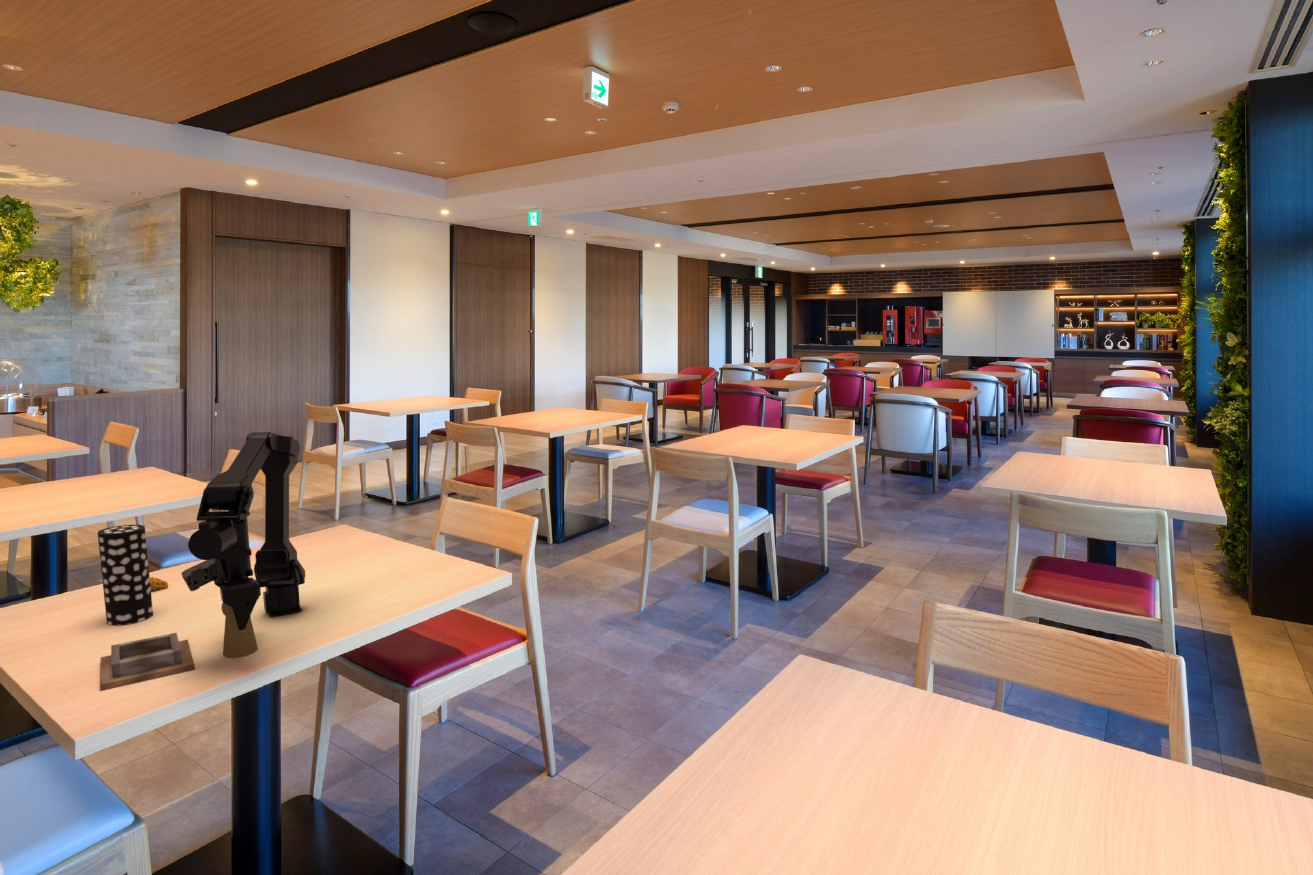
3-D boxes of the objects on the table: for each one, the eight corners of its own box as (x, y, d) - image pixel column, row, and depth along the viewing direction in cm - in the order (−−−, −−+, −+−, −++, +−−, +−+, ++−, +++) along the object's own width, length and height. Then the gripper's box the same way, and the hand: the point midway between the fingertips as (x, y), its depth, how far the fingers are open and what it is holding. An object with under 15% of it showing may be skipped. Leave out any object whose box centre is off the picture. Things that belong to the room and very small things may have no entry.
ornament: (135, 563, 185) (103, 569, 171) (180, 570, 187) (152, 576, 172) (128, 590, 184) (95, 598, 170) (173, 597, 186) (145, 605, 172)
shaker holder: (188, 644, 148) (186, 627, 148) (194, 669, 137) (193, 651, 136) (101, 662, 140) (99, 644, 139) (100, 690, 129) (98, 671, 128)
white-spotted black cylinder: (161, 614, 164) (153, 527, 161) (121, 627, 156) (112, 536, 154) (138, 608, 167) (130, 523, 165) (98, 621, 160) (88, 531, 157)
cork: (242, 659, 141) (238, 603, 140) (215, 656, 143) (210, 601, 141) (265, 646, 147) (261, 593, 146) (238, 643, 148) (234, 591, 147)
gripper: (178, 540, 145) (185, 616, 147) (187, 564, 130) (194, 648, 132) (243, 531, 151) (248, 604, 153) (258, 553, 136) (264, 633, 139)
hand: (238, 622), depth 144 cm, fingers open, 9 cm apart
